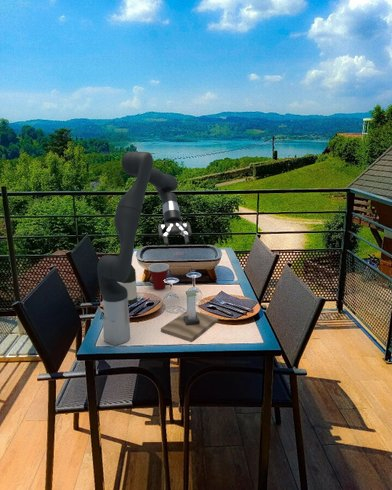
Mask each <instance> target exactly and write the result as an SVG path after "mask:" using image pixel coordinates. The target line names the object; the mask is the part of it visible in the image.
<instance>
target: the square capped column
mask: <svg viewBox="0 0 392 490" xmlns="http://www.w3.org/2000/svg"><path fill="white" fill-rule="evenodd" d="M185 295H186V311H187V316H183V319H184V322H185V324H186V326H187V325H195V324H200V320H199V318H198V317H197V315H196V312H197V308H196V306H197V305H196V297H197V292H196V291H195V289H193V290H186V291H185Z"/></svg>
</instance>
